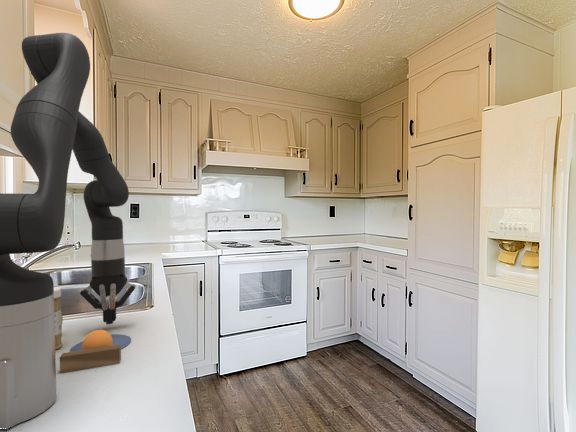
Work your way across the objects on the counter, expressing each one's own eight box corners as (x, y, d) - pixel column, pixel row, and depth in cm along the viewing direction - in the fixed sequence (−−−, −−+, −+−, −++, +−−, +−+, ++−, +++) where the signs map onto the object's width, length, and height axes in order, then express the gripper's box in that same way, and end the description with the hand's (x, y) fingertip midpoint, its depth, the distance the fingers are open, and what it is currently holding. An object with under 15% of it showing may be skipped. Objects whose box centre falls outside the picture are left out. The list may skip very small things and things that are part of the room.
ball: (102, 366, 65) (99, 354, 62) (77, 357, 65) (73, 345, 62) (119, 342, 69) (117, 329, 66) (95, 334, 69) (92, 321, 66)
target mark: (108, 359, 64) (108, 358, 64) (55, 356, 66) (55, 355, 66) (141, 335, 76) (141, 335, 76) (96, 334, 78) (96, 333, 78)
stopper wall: (63, 368, 61) (62, 352, 61) (121, 358, 65) (120, 344, 64) (60, 373, 59) (59, 357, 59) (119, 363, 63) (119, 348, 63)
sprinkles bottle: (44, 345, 72) (42, 287, 71) (66, 343, 72) (65, 286, 72) (32, 354, 67) (30, 292, 67) (55, 352, 68) (54, 290, 68)
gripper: (137, 253, 87) (139, 315, 87) (82, 256, 82) (83, 322, 83) (135, 257, 80) (136, 324, 80) (74, 260, 75) (76, 332, 76)
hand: (109, 323), depth 81 cm, fingers closed
